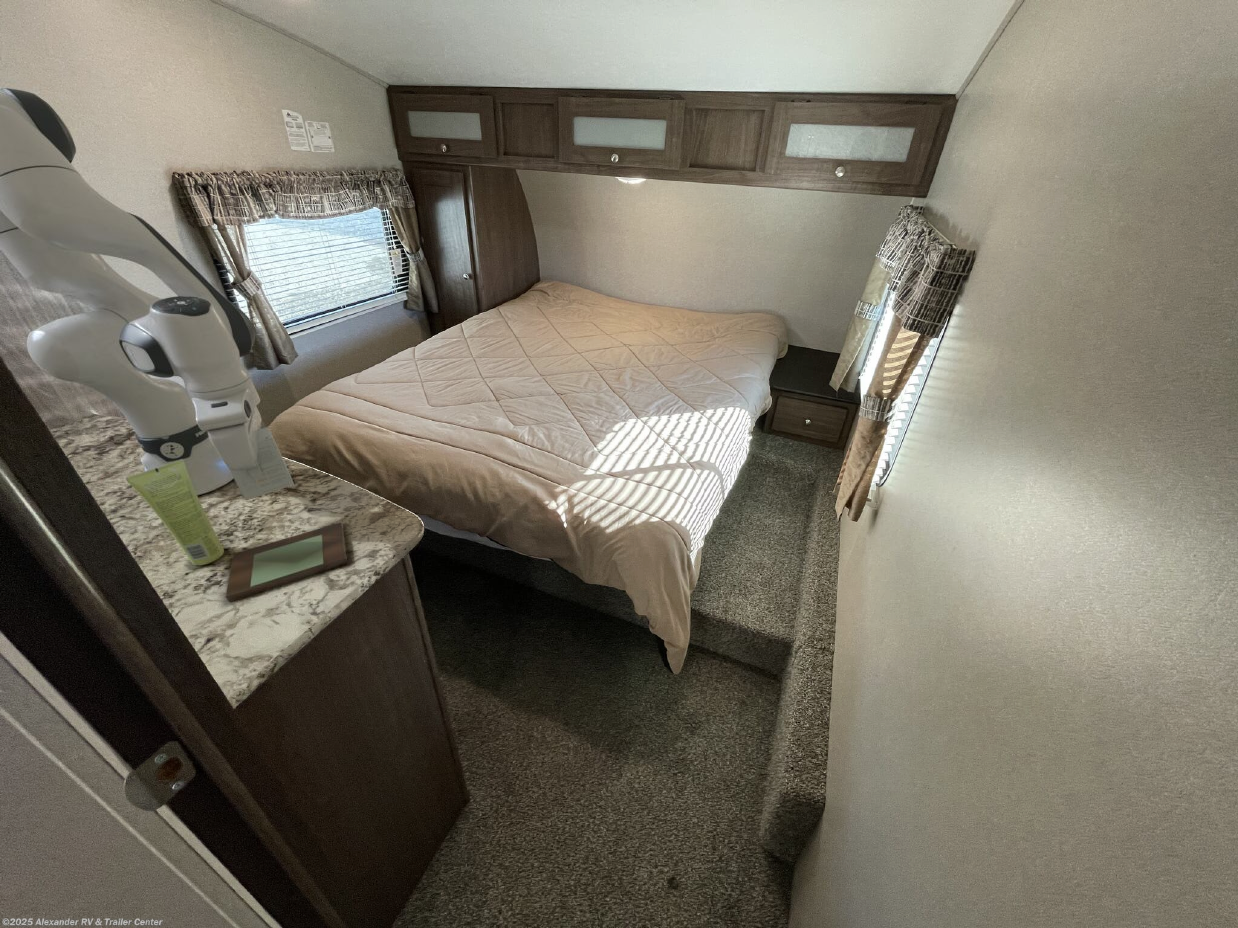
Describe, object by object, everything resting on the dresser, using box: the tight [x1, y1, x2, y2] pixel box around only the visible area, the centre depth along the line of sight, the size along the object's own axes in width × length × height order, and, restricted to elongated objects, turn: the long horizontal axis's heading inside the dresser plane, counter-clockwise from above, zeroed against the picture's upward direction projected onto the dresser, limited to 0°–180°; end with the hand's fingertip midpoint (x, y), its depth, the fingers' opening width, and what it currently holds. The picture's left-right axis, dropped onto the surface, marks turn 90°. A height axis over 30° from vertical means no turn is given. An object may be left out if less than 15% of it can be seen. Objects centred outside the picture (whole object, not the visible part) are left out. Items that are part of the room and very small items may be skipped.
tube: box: [125, 459, 225, 566], centre depth 85 cm, size 6×5×20 cm
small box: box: [229, 426, 295, 501], centre depth 90 cm, size 8×6×10 cm
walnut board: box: [225, 522, 348, 603], centre depth 89 cm, size 12×18×1 cm, turn 119°
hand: (258, 465), depth 90 cm, fingers closed on small box, 6 cm apart
